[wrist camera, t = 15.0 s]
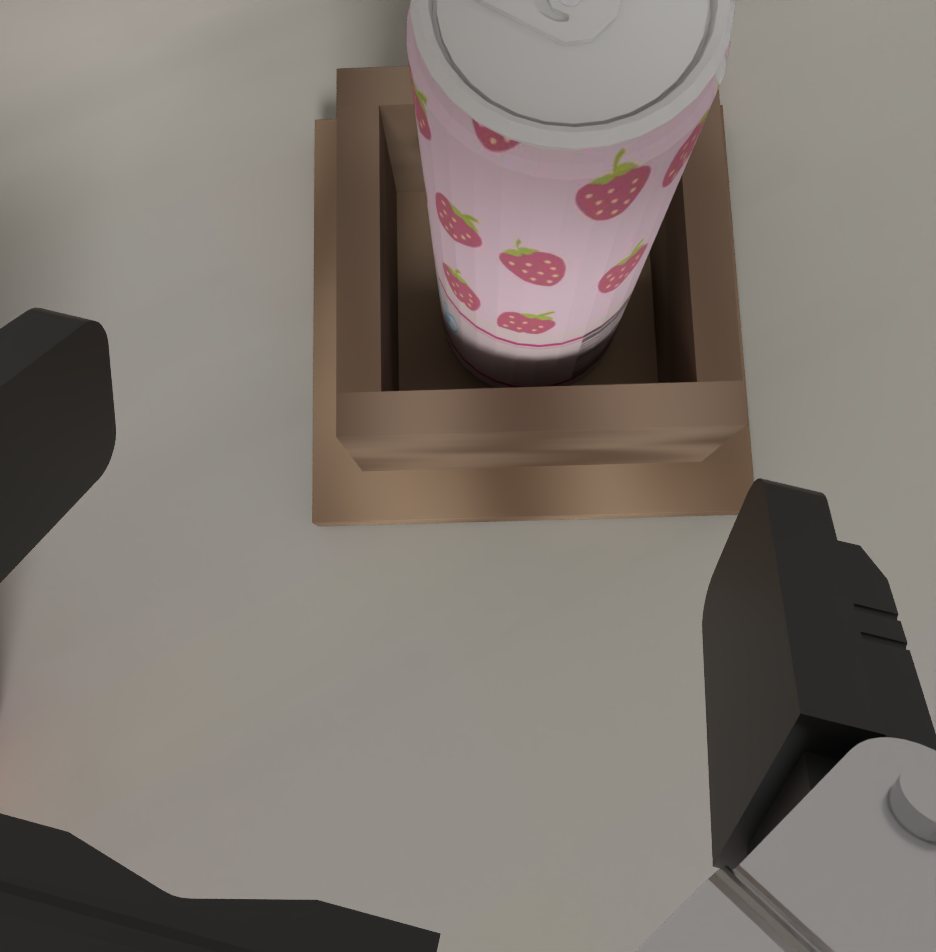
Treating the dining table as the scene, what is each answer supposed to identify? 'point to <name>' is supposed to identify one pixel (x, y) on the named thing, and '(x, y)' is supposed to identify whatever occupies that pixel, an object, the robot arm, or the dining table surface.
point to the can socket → (522, 408)
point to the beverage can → (553, 164)
